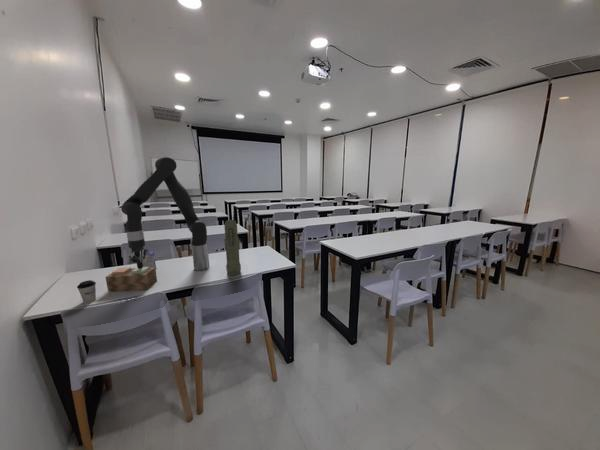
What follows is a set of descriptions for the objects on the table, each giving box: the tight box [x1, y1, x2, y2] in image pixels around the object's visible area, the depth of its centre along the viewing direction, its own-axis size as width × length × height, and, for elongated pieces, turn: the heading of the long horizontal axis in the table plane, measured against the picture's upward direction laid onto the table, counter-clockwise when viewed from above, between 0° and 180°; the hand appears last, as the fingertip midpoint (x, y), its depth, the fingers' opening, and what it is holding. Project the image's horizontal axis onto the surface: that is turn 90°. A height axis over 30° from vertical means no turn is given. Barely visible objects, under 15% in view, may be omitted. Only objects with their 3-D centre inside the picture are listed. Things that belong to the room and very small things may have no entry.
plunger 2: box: [132, 267, 150, 274], centre depth 129 cm, size 6×6×10 cm
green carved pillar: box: [223, 219, 242, 277], centre depth 144 cm, size 9×12×35 cm
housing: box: [105, 267, 158, 293], centre depth 129 cm, size 20×11×9 cm, turn 96°
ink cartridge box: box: [136, 248, 157, 269], centre depth 151 cm, size 10×6×14 cm, turn 116°
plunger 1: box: [111, 267, 132, 275], centre depth 128 cm, size 6×6×10 cm
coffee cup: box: [76, 279, 97, 304], centre depth 114 cm, size 7×7×10 cm
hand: (140, 268), depth 128 cm, fingers closed
